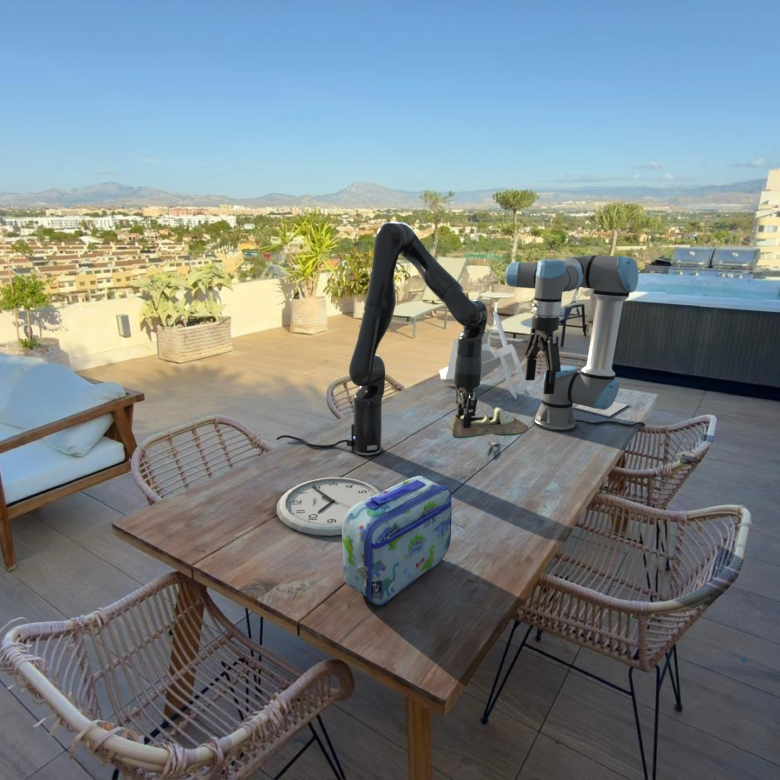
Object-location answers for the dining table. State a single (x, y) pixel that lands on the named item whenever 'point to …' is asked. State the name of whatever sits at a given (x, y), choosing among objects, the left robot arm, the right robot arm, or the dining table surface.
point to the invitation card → (608, 412)
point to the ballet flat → (488, 425)
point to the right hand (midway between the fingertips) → (538, 386)
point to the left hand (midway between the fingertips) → (463, 423)
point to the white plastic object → (490, 361)
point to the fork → (493, 444)
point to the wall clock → (322, 504)
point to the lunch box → (395, 537)
